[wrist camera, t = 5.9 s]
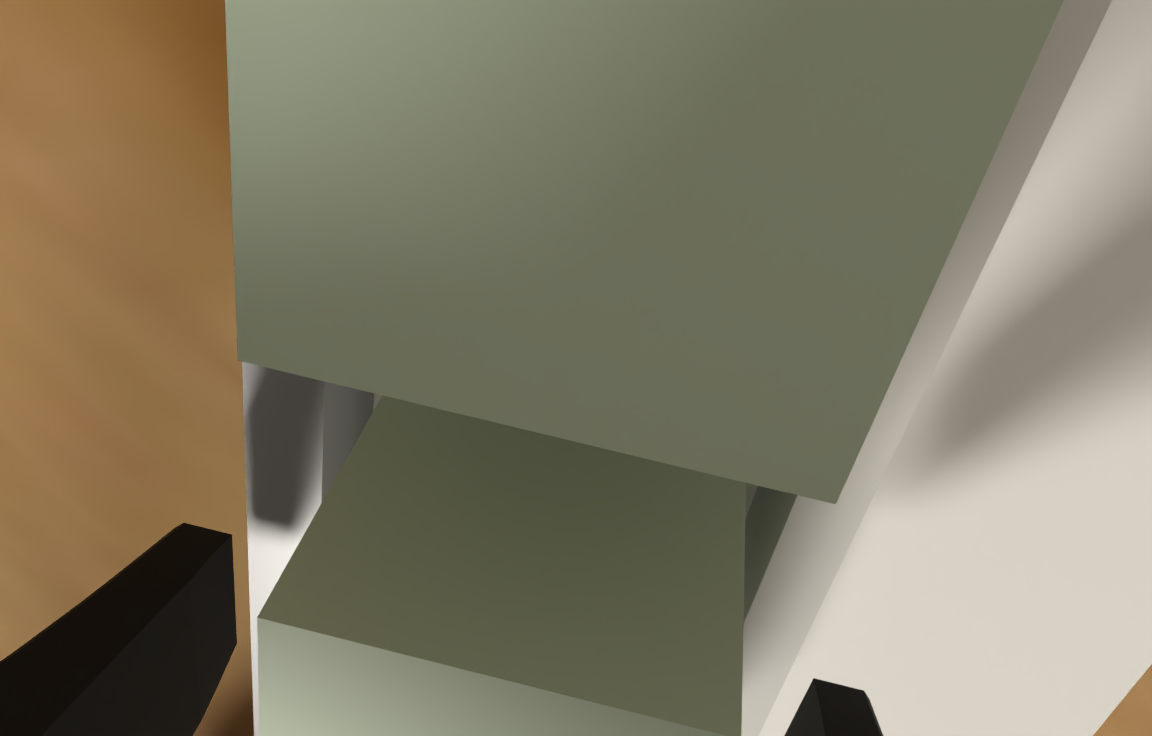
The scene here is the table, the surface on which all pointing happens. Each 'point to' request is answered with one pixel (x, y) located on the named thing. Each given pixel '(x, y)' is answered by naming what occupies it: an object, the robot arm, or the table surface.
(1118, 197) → the shelf board
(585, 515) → the carton
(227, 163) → the table surface
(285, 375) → the rail
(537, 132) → the faced carton
